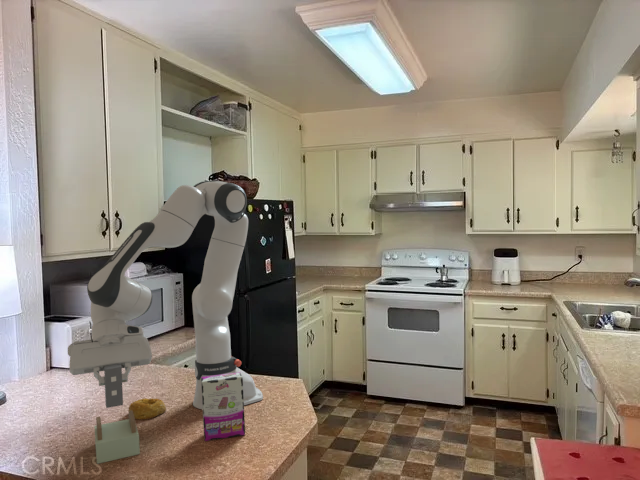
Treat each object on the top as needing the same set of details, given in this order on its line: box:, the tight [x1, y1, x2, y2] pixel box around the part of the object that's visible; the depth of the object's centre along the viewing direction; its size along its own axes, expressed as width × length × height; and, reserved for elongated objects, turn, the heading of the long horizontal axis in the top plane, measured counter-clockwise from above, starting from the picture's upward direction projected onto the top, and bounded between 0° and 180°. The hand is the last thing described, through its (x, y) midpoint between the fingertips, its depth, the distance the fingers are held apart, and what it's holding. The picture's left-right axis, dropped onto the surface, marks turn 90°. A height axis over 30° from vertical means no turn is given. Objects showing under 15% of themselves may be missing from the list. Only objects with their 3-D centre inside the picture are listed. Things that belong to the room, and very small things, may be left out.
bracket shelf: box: [94, 410, 141, 465], centre depth 126 cm, size 10×12×8 cm
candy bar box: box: [201, 372, 246, 442], centre depth 133 cm, size 11×5×16 cm, turn 106°
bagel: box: [128, 398, 167, 420], centre depth 149 cm, size 10×11×5 cm
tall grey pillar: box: [103, 364, 124, 409], centre depth 126 cm, size 4×4×10 cm
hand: (113, 382), depth 125 cm, fingers closed on tall grey pillar, 4 cm apart
